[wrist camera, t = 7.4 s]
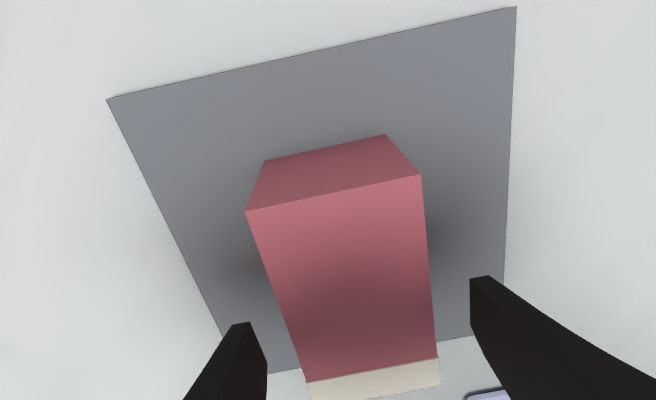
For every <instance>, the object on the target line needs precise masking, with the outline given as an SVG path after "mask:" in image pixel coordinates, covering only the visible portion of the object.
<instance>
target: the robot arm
mask: <svg viewBox="0 0 656 400" xmlns="http://www.w3.org/2000/svg"><path fill="white" fill-rule="evenodd" d="M469 287H470V326H471V328H472V330H473V332H474V335H475V337H476V339H477V341H478V343H479V345H480V348H481V350H482V352H483V354H484V356H485V358H486V359H487V361H488V363H489V364H490V366H491V368H492V369H493V371H494V373H495V374H496V376H497V378H498V379H499V381H500V383H501V384H502V386H503V388H504V389H505V390H500V391H494V392H489V393H483V394H478V395H473V396H470V397H468V398H467V399H466V400H656V379H655V378H653V377H651V376H649V375H647V374H645V373H643V372H641V371H640V370H638V369H636V368H634V367H632V366H630V365H628V364H627V363H625V362H623V361H621V360H619V359H617V358H615V357H614V356H612V355H610V354H608V353H607V352H605V351H603V350H601V349H600V348H598V347H596V346H595V345H593V344H591V343H590V342H588V341H586V340H585V339H583V338H581V337H580V336H578V335H576V334H575V333H573V332H572V331H570V330H568V329H567V328H565V327H564V326H562V325H561V324H559V323H558V322H556V321H555V320H553V319H552V318H550V317H548V316H547V315H545V314H544V313H542V312H541V311H539V310H538V309H536V308H535V307H534V306H532V305H531V304H529V303H528V302H526V301H525V300H523V299H522V298H521V297H519V296H518V295H516V294H515V293H514V292H512V291H511V290H509V289H508V288H506V287H505V286H504V285H502V284H501V283H499V282H498V281H497V280H495V279H494V278H492V277H491V276H489V275H486V276H481V277H476V278H470V279H469ZM267 364H268V363H267V361H266V358H265V356H264V354H263V351H262V349H261V346H260V344H259V342H258V339H257V337H256V335H255V332H254V330H253V328H252V325H251V323H250V321H249V322H244V323H239V324H233V325H231V327H230V328H229V330H228V331H227V333H226V334H225V336H224V338H223V339H222V341H221V342H220V344H219V345H218V347H217V349H216V350H215V352H214V353H213V355H212V356H211V358H210V360H209V361H208V363H207V364H206V366H205V367H204V369H203V370H202V372H201V373H200V375H199V376H198V378H197V379H196V381H195V382H194V384H193V385H192V387H191V389H190V390H189V391H188V393H187V394H186V396H185V397H184V399H183V400H266V392H267Z"/></svg>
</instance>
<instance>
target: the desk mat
mask: <svg viewBox="0 0 656 400" xmlns="http://www.w3.org/2000/svg"><path fill="white" fill-rule="evenodd" d="M516 13H517V6H514V7H509V8H505V9H500V10H496V11H491V12H487V13H483V14H478V15H474V16H469V17H465V18H460V19H456V20H452V21H447V22H443V23H438V24H434V25H430V26H425V27H421V28H416V29H412V30H408V31H403V32H399V33H394V34H390V35H386V36H381V37H377V38H372V39H368V40H363V41H359V42H355V43H350V44H346V45H341V46H337V47H333V48H328V49H324V50H319V51H315V52H311V53H306V54H302V55H297V56H293V57H289V58H284V59H280V60H275V61H271V62H266V63H262V64H258V65H253V66H249V67H244V68H240V69H236V70H231V71H227V72H222V73H218V74H214V75H209V76H205V77H200V78H196V79H191V80H187V81H183V82H178V83H174V84H169V85H165V86H161V87H156V88H152V89H147V90H143V91H139V92H134V93H130V94H125V95H121V96H117V97H112V98H109V99H105V100H106V102H107V104H108V106H109V108H110V110H111V112H112V114H113V116H114V118H115V120H116V122H117V124H118V126H119V128H120V130H121V132H122V134H123V136H124V138H125V140H126V142H127V144H128V146H129V148H130V150H131V152H132V154H133V156H134V158H135V160H136V162H137V164H138V166H139V168H140V170H141V172H142V175H143V177H144V179H145V181H146V183H147V185H148V187H149V189H150V191H151V193H152V195H153V197H154V199H155V201H156V203H157V205H158V207H159V209H160V211H161V213H162V215H163V217H164V219H165V221H166V223H167V225H168V227H169V229H170V231H171V233H172V235H173V237H174V239H175V241H176V243H177V245H178V247H179V249H180V251H181V254H182V256H183V258H184V260H185V262H186V264H187V266H188V268H189V270H190V272H191V274H192V276H193V278H194V280H195V282H196V284H197V286H198V288H199V290H200V292H201V294H202V296H203V298H204V300H205V302H206V304H207V306H208V308H209V310H210V312H211V314H212V316H213V318H214V320H215V322H216V324H217V326H218V328H219V330H220V333H221V335H222V337H223V338H224V336H225V334H226V333H227V331H228V330H229V328H230V327H231V325H233V324H239V323H244V322H249V321H250V323H251V325H252V328H253V330H254V332H255V335H256V337H257V339H258V342H259V344H260V346H261V349H262V351H263V354H264V356H265V358H266V361H267V363H268V364H267V374H271V373H276V372H281V371H286V370H292V369H297V368H302V367H301V364H300V362H299V359H298V356H297V354H296V351H295V348H294V345H293V343H292V340H291V337H290V334H289V332H288V329H287V326H286V323H285V321H284V318H283V315H282V313H281V310H280V307H279V304H278V302H277V299H276V296H275V293H274V291H273V288H272V285H271V282H270V280H269V277H268V274H267V272H266V269H265V266H264V263H263V261H262V258H261V255H260V252H259V250H258V247H257V244H256V241H255V239H254V236H253V233H252V231H251V228H250V225H249V222H248V220H247V217H246V214H245V209H246V207H247V204H248V202H249V199H250V197H251V194H252V191H253V189H254V186H255V184H256V181H257V178H258V176H259V173H260V171H261V168H262V166H263V163H264V161H265V160H270V159H274V158H279V157H284V156H288V155H293V154H297V153H302V152H306V151H311V150H315V149H320V148H324V147H329V146H334V145H338V144H343V143H347V142H352V141H356V140H361V139H365V138H370V137H374V136H379V135H383V134H386V135H387V136H388V137H389V139H390V140H391V141H392V142H393V143H394V144H395V145H396V146H397V148H398V149H399V150H400V151H401V152H402V153H403V154H404V156H405V157H406V158H407V159H408V160H409V161H410V162H411V163H412V165H413V166H414V167H415V168H416V169H417V170H418V171H419V172H420V174H421V181H422V193H423V204H424V215H425V226H426V237H427V249H428V260H429V271H430V282H431V293H432V304H433V316H434V327H435V338H436V342H440V341H445V340H450V339H455V338H461V337H466V336H471V335H474V332H473V330H472V328H471V326H470V287H469V279H470V278H476V277H481V276H486V275H489V276H491V277H492V278H494V279H495V280H497V281H498V282H499V283H501V284H502V285H503V283H504V262H505V241H506V220H507V200H508V179H509V158H510V137H511V117H512V96H513V75H514V54H515V34H516Z"/></svg>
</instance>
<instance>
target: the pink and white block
mask: <svg viewBox="0 0 656 400" xmlns="http://www.w3.org/2000/svg"><path fill="white" fill-rule="evenodd" d="M245 214H246V217H247V220H248V222H249V225H250V228H251V231H252V233H253V236H254V239H255V241H256V244H257V247H258V250H259V252H260V255H261V258H262V261H263V263H264V266H265V269H266V272H267V274H268V277H269V280H270V282H271V285H272V288H273V291H274V293H275V296H276V299H277V302H278V304H279V307H280V310H281V313H282V315H283V318H284V321H285V323H286V326H287V329H288V332H289V334H290V337H291V340H292V343H293V345H294V348H295V351H296V354H297V356H298V359H299V362H300V364H301V367H302V370H303V373H304V375H305V378H306V386H307V389H308V391H309V394H310V397H311V399H312V400H366V399H371V398H376V397H382V396H387V395H392V394H398V393H403V392H408V391H414V390H419V389H424V388H430V387H435V386H440V385H441V375H440V364H439V357H438V354H437V349H436V338H435V327H434V316H433V304H432V293H431V282H430V271H429V260H428V249H427V237H426V226H425V215H424V204H423V193H422V181H421V174H420V172H419V171H418V170H417V169H416V168H415V167H414V166H413V165H412V163H411V162H410V161H409V160H408V159H407V158H406V157H405V156H404V154H403V153H402V152H401V151H400V150H399V149H398V148H397V146H396V145H395V144H394V143H393V142H392V141H391V140H390V139H389V137H388V136H387V135H386V134H383V135H379V136H374V137H370V138H365V139H361V140H356V141H352V142H347V143H343V144H338V145H334V146H329V147H324V148H320V149H315V150H311V151H306V152H302V153H297V154H293V155H288V156H284V157H279V158H274V159H270V160H265V161H264V163H263V166H262V168H261V171H260V173H259V176H258V178H257V181H256V184H255V186H254V189H253V191H252V194H251V197H250V199H249V202H248V204H247V207H246V209H245Z"/></svg>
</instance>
